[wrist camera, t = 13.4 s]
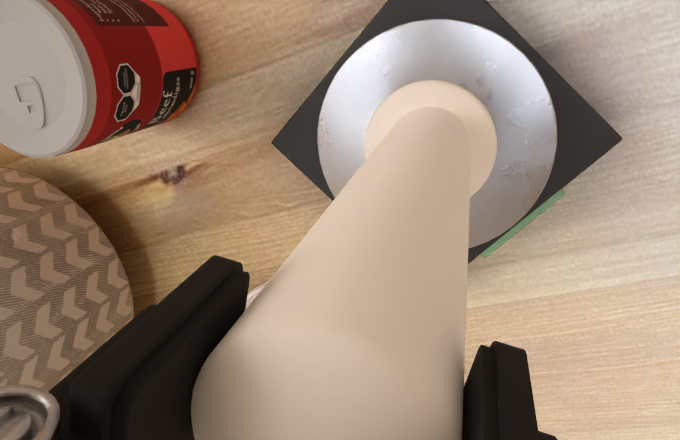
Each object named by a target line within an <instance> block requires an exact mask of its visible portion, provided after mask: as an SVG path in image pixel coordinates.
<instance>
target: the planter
mask: <svg viewBox="0 0 680 440" xmlns="http://www.w3.org/2000/svg"><path fill="white" fill-rule="evenodd" d="M133 318H134V305H133V297H132V292H131V288H130V284H129V281H128V278H127V275H126V272H125V270H124V267H123V265H122V263H121V261H120V259H119V257H118V254H117V253H116V251H115V249H114V248H113V246H112V244H111V242H110V241H109V240H108V238H107V237H106V235H105V234H104V232H103V231H102V230H101V228H100V227H99V226H98V225H97V224H96V222H95V221H94V220H93V219H92V218H91V217H90V216H89V215H88V214H87V212H86V211H85V210H83V209H82V208H81V207H80V206H79V205H78V204H77V203H76V202H75V201H73V200H72V199H71V198H70V197H68V196H67V195H66V194H65V193H63V192H62V191H60V190H59V189H57V188H56V187H54V186H53V185H51V184H49V183H47V182H46V181H44V180H42V179H39V178H37V177H35V176H33V175H30V174H28V173H25V172H22V171H18V170H14V169H10V168H4V167H0V387H2V386H8V385H31V386H34V387H38V388H41V389H44V390H46V391H47V392H48V391H50V390H51V389H52V388H53V387H54V386H55V385H57V384H58V383H59V382H60V381H61V380H62V379H64V378H65V377H66V376H67V375H68V374H69V373H70V372H72V371H73V370H74V369H75V368H76V367H77V366H79V365H80V364H81V363H82V362H83V361H84V360H86V359H87V358H88V357H89V356H90V355H91V354H93V353H94V352H95V351H96V350H97V349H98V348H100V347H101V346H102V345H103V344H104V343H105V342H106V341H108V340H109V339H110V338H111V337H112V336H113V335H115V334H116V333H117V332H118V331H119V330H120V329H122V328H123V327H124V326H125V325H126V324H127V323H129V322H130V321H131V320H132V319H133Z"/></svg>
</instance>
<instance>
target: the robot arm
mask: <svg viewBox="0 0 680 440" xmlns="http://www.w3.org/2000/svg"><path fill="white" fill-rule="evenodd" d="M249 278H250V276H249V273H248V272H244V271H243V266H242V264H241V263H240V262H236V261H233V260H230V259H226V258H223V257H220V256H217V255H214V256H212V257H211V258H210V259H209V260H207V261H206V262H205V263H204V264H203V265H202V266H201V267H199V268H198V269H197V270H196V271H195V272H194V273H193V274H192V275H190V276H189V277H188V278H187V279H186V280H185V281H184V282H182V283H181V284H180V285H179V286H178V287H177V288H176V289H175V290H173V291H172V292H171V293H170V294H169V295H168V296H167V297H165V298H164V299H163V300H162V301H161V302H160V303H159V304H158V305H150V306H148V307H147V308H145V309H144V310H143V311H141V312H140V313H139V314H138V315H137V316H136V317H134V318H133V319H132V320H131V321H130V322H129V323H127V324H126V325H125V326H124V327H123V328H122V329H120V330H119V331H118V332H117V333H116V334H115V335H113V336H112V337H111V338H110V339H109V340H108V341H106V342H105V343H104V344H103V345H102V346H101V347H100V348H98V349H97V350H96V351H95V352H94V353H93V354H91V355H90V356H89V357H88V358H87V359H86V360H84V361H83V362H82V363H81V364H80V365H79V366H77V367H76V368H75V369H74V370H73V371H72V372H70V373H69V374H68V375H67V376H66V377H65V378H64V379H62V380H61V381H60V382H59V383H58V384H57V385H55V386H54V387H53V388H52V389H51V390H50V391H48V392H47V391H46V390H44V389H41V388H38V387H34V386H31V385H8V386H2V387H0V440H195V438H194V433H193V428H192V419H191V401H192V394H193V389H194V385H195V382H196V380H197V377H198V375H199V373H200V370H201V368H202V366H203V364H204V363H205V361H206V359H207V358H208V356H209V355H210V354H211V353H212V351H213V350H214V349H215V348H216V346H217V345H218V344H219V343H220V341H221V340H222V339H223V338H224V336H225V335H226V334H227V333H228V331H229V330H230V329H231V328H232V326H233V325H234V324H235V323H236V321H237V320H238V319H239V318H240V316H241V315H242V314H243V313H244V311H245V308H246V301H247V294H248V287H249ZM462 440H557V439H556V437H555V436H552V435H549V434H546V433H543V432H540V431H538V427H537V420H536V414H535V407H534V401H533V394H532V387H531V381H530V374H529V368H528V361H527V355H526V351H525V350H523V349H520V348H517V347H513V346H510V345H507V344H504V343H500V342H497V341H494V342H493V343H492V344H491V346H490V347H487V346H484V345H481V346H480V347H479V349H478V352H477V354H476V357H475V359H474V362H473V365H472V367H471V370H470V373H469V375H468V378H467V380H466V383H465V386H464V393H463V423H462Z"/></svg>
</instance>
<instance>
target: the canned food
mask: <svg viewBox="0 0 680 440" xmlns="http://www.w3.org/2000/svg"><path fill="white" fill-rule="evenodd" d="M198 81H199V60H198V54H197V51H196V48H195V45H194V42H193V40H192V38H191V36H190V34H189V32H188V30H187V29H186V28H185V26H184V25H183V23H182V22H181V21H180V20H179V19H178V18H177V17H176V16H175V15H174V14H173V13H172V12H170V11H169V10H167V9H166V8H164V7H163V6H161V5H160V4H158V3H156V2H154V1H151V0H0V143H2V144H3V145H5V146H6V147H8V148H9V149H11V150H13V151H16V152H18V153H20V154H22V155H26V156H30V157H35V158H47V157H51V156H58V155H62V154H66V153H69V152H73V151H76V150H80V149H84V148H87V147H90V146H93V145H96V144H99V143H102V142H105V141H108V140H111V139H115V138H118V137H121V136H124V135H127V134H130V133H133V132H136V131H139V130H143V129H146V128H149V127H152V126H155V125H158V124H161V123H164V122H167V121H170V120H172V119H174V118H175V117H177V116H178V115H179V114H181V113H182V112H183V111H184V110H185V109H186V107H187V106H188V105H189V104H190V102H191V100H192V99H193V97H194V95H195V92H196V90H197V87H198Z"/></svg>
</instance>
